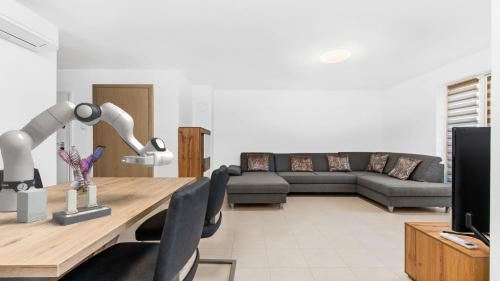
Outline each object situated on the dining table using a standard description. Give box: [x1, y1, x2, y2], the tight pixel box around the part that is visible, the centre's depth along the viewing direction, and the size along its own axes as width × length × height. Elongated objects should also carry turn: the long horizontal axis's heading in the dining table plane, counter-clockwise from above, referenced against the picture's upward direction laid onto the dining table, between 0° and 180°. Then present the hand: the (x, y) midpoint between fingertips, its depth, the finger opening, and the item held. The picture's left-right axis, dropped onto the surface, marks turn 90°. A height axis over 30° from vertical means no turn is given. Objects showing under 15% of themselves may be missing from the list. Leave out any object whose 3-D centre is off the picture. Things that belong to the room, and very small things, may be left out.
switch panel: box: [51, 203, 112, 226], centre depth 107 cm, size 13×18×3 cm
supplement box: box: [16, 188, 48, 224], centre depth 103 cm, size 7×7×13 cm
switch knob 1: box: [63, 189, 78, 214], centre depth 102 cm, size 2×4×10 cm, turn 146°
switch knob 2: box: [85, 184, 98, 207], centre depth 113 cm, size 2×4×10 cm, turn 146°
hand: (123, 160), depth 126 cm, fingers closed
